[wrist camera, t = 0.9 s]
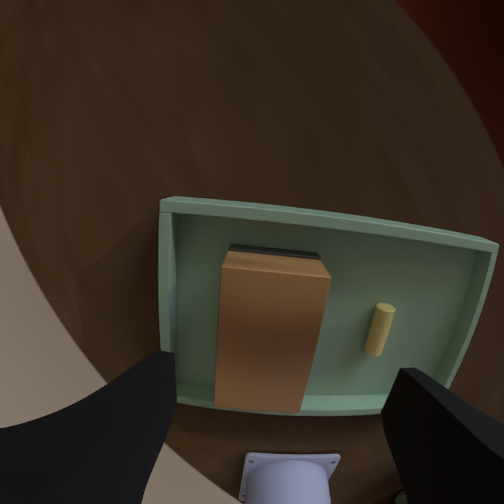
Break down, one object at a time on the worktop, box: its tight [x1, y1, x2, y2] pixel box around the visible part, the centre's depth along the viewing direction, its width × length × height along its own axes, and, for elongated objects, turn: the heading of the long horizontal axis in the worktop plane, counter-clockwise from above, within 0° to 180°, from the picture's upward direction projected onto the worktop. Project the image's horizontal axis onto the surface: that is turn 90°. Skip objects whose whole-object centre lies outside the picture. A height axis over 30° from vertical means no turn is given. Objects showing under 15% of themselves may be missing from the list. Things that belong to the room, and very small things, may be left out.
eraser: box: [214, 244, 331, 414], centre depth 14 cm, size 8×4×4 cm, turn 174°
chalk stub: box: [364, 303, 395, 357], centre depth 16 cm, size 3×1×1 cm
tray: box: [158, 196, 499, 416], centre depth 16 cm, size 12×19×2 cm, turn 84°
